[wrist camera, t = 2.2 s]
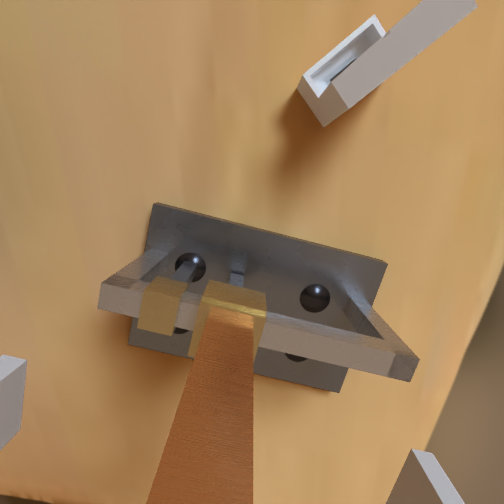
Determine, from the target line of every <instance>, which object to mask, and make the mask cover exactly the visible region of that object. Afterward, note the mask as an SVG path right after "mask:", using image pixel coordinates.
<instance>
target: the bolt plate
mask: <svg viewBox="0 0 504 504" xmlns="http://www.w3.org/2000/svg"><path fill="white" fill-rule="evenodd" d="M151 248H152V249H156V250H160V251H164V252H168V253H169V256H168V261H167V266H166V271H165V272H164V273H163V274H162V275H161V276H160V277H164V278H168V279H170V278H171V277H172V275H173V274H174V273H175V272H176V271H177V269H178V268H179V267H180V266H181V265H182V263H183V262H184V261H185V260H186V261H190V262H194V263H198V266H197V270H196V275H195V277H194V278H193V280H192V282H191V283H190V285H189V287H188V290H187V292H190V293H194V294H198V295H203V293H204V291H205V289H206V286H207V284H208V282H209V279H210V280H214V281H218V282H222V283H227V284H229V280H230V276H231V273H234V274H238V275H242V276H244V282H243V288H247V289H251V290H255V291H259V292H263V293H265V297H266V307H267V311H268V312H272V313H276V314H280V315H285V316H289V317H293V318H297V319H301V320H305V321H309V322H313V323H318V324H322V325H326V326H330V327H334V328H338V329H342V330H346V331H350V332H355V333H357V332H356V330H355V329H354V327H353V326H352V324H351V323H350V321H349V320H348V318H347V317H346V315H345V313H346V311H347V308H348V305H349V302H350V299H351V298H352V299H356V300H360V301H364V302H368V303H369V305H370V306H371V307H372V305H373V302H374V299H375V297H376V294H377V291H378V289H379V286H380V283H381V281H382V278H383V276H384V273H385V270H386V268H387V265H388V264H387V263H386V262H384V261H383V260H380V259H376V258H372V257H368V256H364V255H360V254H356V253H352V252H348V251H345V250H341V249H337V248H333V247H329V246H325V245H321V244H317V243H313V242H310V241H306V240H302V239H298V238H294V237H290V236H286V235H282V234H279V233H275V232H271V231H267V230H263V229H259V228H255V227H251V226H247V225H244V224H240V223H236V222H232V221H228V220H224V219H220V218H216V217H212V216H209V215H205V214H201V213H197V212H193V211H189V210H185V209H181V208H178V207H174V206H170V205H166V204H162V203H154V204H153V208H152V214H151V219H150V225H149V230H148V236H147V241H146V247H145V252H144V253H146V252H147V251H148V250H150V249H151ZM138 320H139V318H136V317H133V319H132V324H131V330H130V335H129V341H128V344H129V345H133V346H137V347H142V348H146V349H150V350H155V351H159V352H163V353H168V354H172V355H176V356H181V357H185V358H189V359H194V357H190V356H188V351H189V347H190V343H191V339H192V334H193V331H191V330H187V329H182V328H178V327H176V329H175V331H174V333H173V334H172V336H168V335H164V334H160V333H156V332H151V331H147V330H143V329H139V328H137V325H138ZM347 371H348V368H347V367H343V366H339V365H335V364H331V363H326V362H322V361H318V360H314V359H309V358H305V357H301V356H297V355H292V354H288V353H284V352H280V351H275V350H271V349H267V348H263V347H259V346H258V349H257V353H256V356H255V360H254V363H253V373H254V374H259V375H263V376H267V377H272V378H276V379H280V380H285V381H289V382H293V383H298V384H302V385H306V386H311V387H315V388H319V389H324V390H328V391H332V392H337V393H339V392H340V389H341V387H342V384H343V381H344V379H345V376H346V373H347Z"/></svg>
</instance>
